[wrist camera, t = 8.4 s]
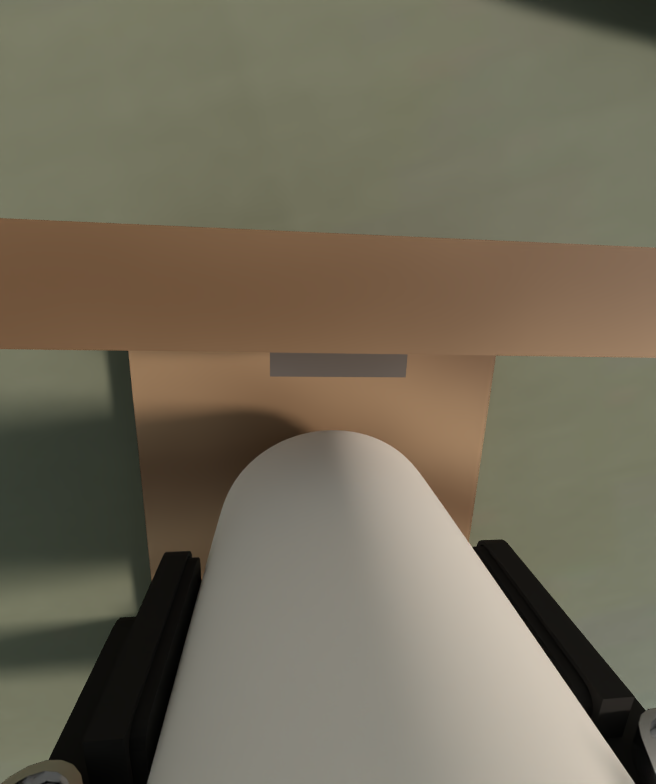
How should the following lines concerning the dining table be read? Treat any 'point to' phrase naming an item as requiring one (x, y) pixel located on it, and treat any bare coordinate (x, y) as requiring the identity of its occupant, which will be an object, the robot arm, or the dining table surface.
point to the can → (361, 642)
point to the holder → (310, 341)
